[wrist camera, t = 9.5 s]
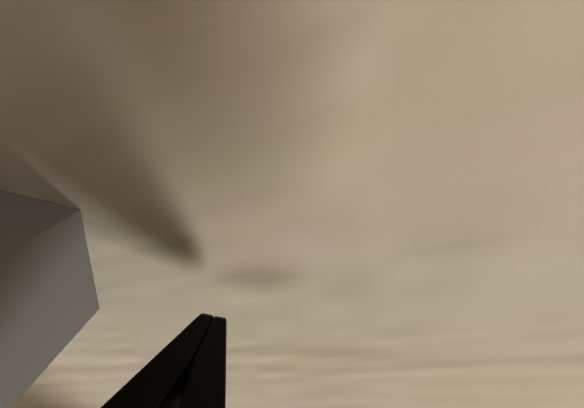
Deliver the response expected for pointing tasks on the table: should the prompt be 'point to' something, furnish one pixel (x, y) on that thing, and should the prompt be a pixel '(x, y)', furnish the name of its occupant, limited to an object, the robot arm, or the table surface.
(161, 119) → the table surface
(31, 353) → the block
